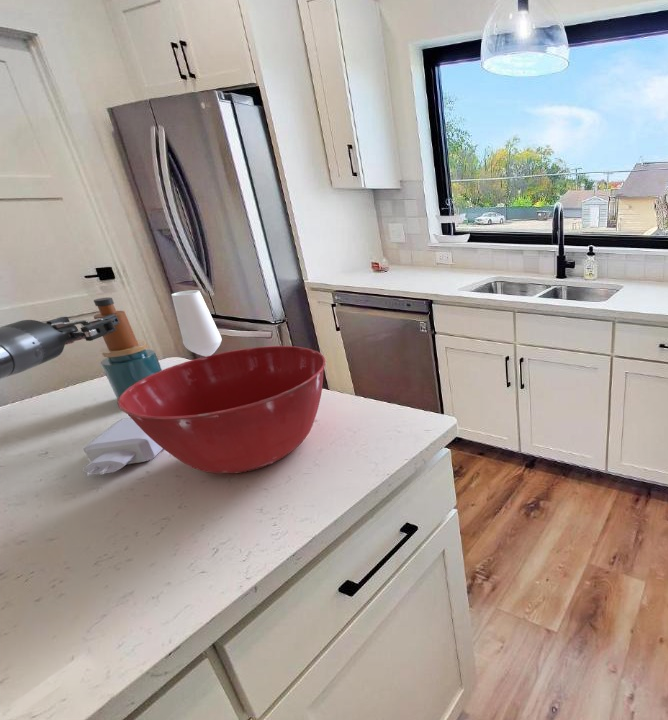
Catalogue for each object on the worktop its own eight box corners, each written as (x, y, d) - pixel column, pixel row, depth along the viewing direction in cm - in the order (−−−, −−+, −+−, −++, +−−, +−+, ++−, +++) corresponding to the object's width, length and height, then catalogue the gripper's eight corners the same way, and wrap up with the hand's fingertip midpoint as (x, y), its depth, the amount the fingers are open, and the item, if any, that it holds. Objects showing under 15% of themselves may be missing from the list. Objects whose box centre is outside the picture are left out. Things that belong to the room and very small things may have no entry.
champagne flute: (245, 390, 99) (212, 290, 89) (215, 403, 93) (176, 298, 84) (228, 385, 101) (194, 288, 92) (197, 397, 96) (158, 295, 86)
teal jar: (108, 408, 92) (83, 355, 87) (137, 389, 100) (115, 340, 95) (154, 404, 93) (132, 352, 88) (179, 386, 101) (160, 338, 96)
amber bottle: (102, 351, 89) (79, 302, 85) (119, 343, 93) (98, 296, 89) (127, 349, 90) (106, 301, 85) (143, 342, 94) (124, 295, 90)
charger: (66, 492, 66) (126, 440, 80) (134, 482, 68) (181, 433, 82) (52, 468, 65) (115, 419, 78) (123, 458, 67) (173, 412, 80)
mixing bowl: (289, 399, 94) (271, 335, 88) (373, 434, 81) (358, 360, 74) (128, 468, 72) (88, 388, 66) (206, 531, 58) (166, 438, 52)
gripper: (52, 324, 69) (124, 299, 84) (-50, 330, 67) (41, 304, 82) (73, 365, 72) (138, 334, 87) (-25, 372, 70) (59, 340, 85)
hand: (91, 320), depth 84 cm, fingers open, 8 cm apart
